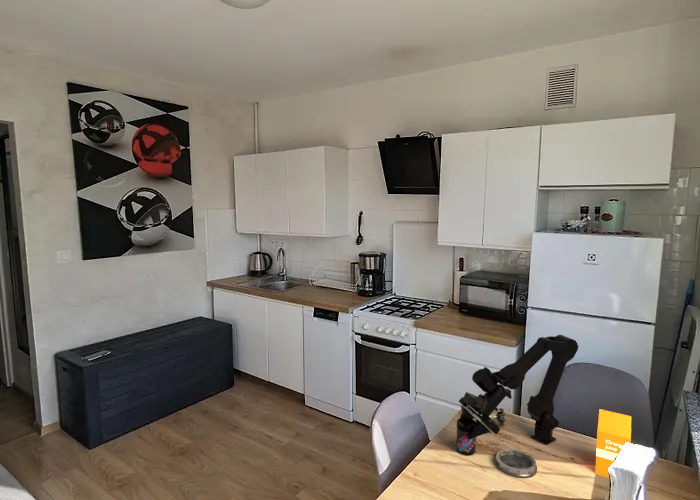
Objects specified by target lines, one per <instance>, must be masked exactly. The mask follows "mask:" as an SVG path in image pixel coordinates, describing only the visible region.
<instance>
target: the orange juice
mask: <svg viewBox="0 0 700 500" xmlns="http://www.w3.org/2000/svg"><path fill="white" fill-rule="evenodd" d="M598 411H599V412H598V423H597V432H596V448H595V450H596V451H595V452H596V453H595V471H594V473H595V474H596V475H599V476H602V477H605V478H608V479H610V478H609V474H608V467H609V466H610V465H611V464H612V463H613V462H614V460H615V458H616V456H617V455H618V453H619V452H620V450H621V448H622V446H623V445H624V444H625V442H629V443H631V440H632V439H631V438H632V416H631V415H627V414H623V413H618V412H614V411H609V410H605V409H601V408H600V409H599V410H598Z"/></svg>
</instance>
